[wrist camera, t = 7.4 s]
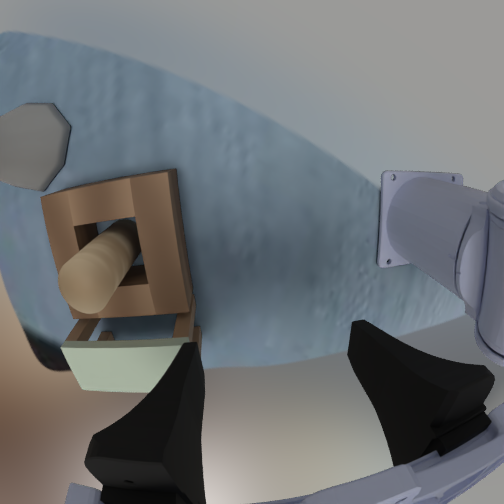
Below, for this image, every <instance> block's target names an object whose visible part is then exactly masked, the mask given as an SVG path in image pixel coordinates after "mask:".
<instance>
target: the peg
mask: <svg viewBox="0 0 504 504" xmlns="http://www.w3.org/2000/svg"><path fill="white" fill-rule="evenodd" d="M140 252H141V246H140V241H139V235H138V230H137V224H136V223H135V222H133V221H131V220H126V219H122V220H118V221H116V222H115V223H113V224H112V225H111V226H109V227H108V228H107V229H106V230H104V231H103V232H102V233H101V234H99V235H98V236H97V237H96V238H95V239H93V240H92V241H91V242H90V243H89V244H87V245H86V246H85V247H84V248H83V249H81V250H80V251H79V252H78V253H77V254H76V255H74V256H73V257H72V258H71V259H70V260H69V261H68V262H66V263H65V264H64V265H63V266H62V268H61V270H60V272H59V276H58V285H59V289H60V292H61V294H62V296H63V298H64V299H65V300H66V302H67V303H68V304H69V305H70V306H71V307H73V308H74V309H76V310H77V311H80V312H82V313H86V314H93V313H97V312H99V311H101V310H102V309H104V307H105V306H106V305H107V303H108V301H109V300H110V298H111V296H112V295H113V293H114V292H115V290H116V289H117V287H118V285H119V284H120V282H121V281H122V279H123V278H124V276H125V275H126V273H127V272H128V270H129V269H130V267H131V266H132V264H133V263H134V261H135V260H136V258H137V257H138V255H139V254H140Z"/></svg>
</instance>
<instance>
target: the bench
mask: <svg viewBox="0 0 504 504" xmlns="http://www.w3.org/2000/svg"><path fill="white" fill-rule="evenodd" d="M195 310H196V302H195V297H194V294H192V298H191V305H190V311H189V312H186V313H177V318H176V323H175V328H174V333H173V338H165V339H147V340H120V341H115V340H114V337H113V335H112V332H101V334H100V336H99V338H98V340H97V341H88V340H89V338H90V336H91V334H92V333H93V331H94V329H95V327H96V326H97V324H98V322H99V321H100V319H101V318H88V319H79V321H78V322H77V323H76V325H75V326H74V328H73V329H72V331H71V332H70V334H69V335H68V337H67V339H66V340H65V342H64V343H63V345H62V346H61V349H62V351H63V354H64V356H65V358H66V360H67V362H68V364H69V366H70V368H71V370H72V372H73V373H74V375H75V377H76V379H77V380H78V383H79V384H80V386H81V388H82V389H83V390H92V391H109V392H150V391H151V390H152V389H153V388H154V387H155V385H156V384H157V383H158V381H159V380H160V379H161V377H162V376H163V375H164V373H165V372H166V370H167V369H168V367H169V366H170V364H171V363H172V361H173V360H174V358H175V356H176V355H177V353H178V351H179V349H180V347H181V346H182V344H183V343H185V342H197V343H198V348H199V352H200V357H201V344H202V334H201V329H200V326H196V327H194V319H195Z"/></svg>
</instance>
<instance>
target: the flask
mask: <svg viewBox="0 0 504 504" xmlns="http://www.w3.org/2000/svg"><path fill="white" fill-rule="evenodd" d="M70 128H71V127H70V125H69V124H68V123H67V121H66V120H65V119H64V118H63V116H62V115H61V114H60V112H59V111H58V110H57V109H56V107H55V106H54V105H53V103H26V104H24V105H21V106H19V107H17V108H16V109H14V110H12V111H10V112H8V113H6V114H5V115H2V116H0V181H2V182H5V183H7V184H10V185H13V186H16V187H20V188H25V189H31V190H37V191H42V192H44V190H45V189H46V188H47V186H48V185H49V183H50V182H51V181H52V179H53V178H54V177H55V176H56V174H57V173H58V172H59V170H60V169H61V168H62V167H63V165H64V161H65V154H66V149H67V143H68V138H69V132H70Z"/></svg>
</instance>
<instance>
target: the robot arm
mask: <svg viewBox="0 0 504 504" xmlns="http://www.w3.org/2000/svg"><path fill="white" fill-rule="evenodd" d="M392 175H394V179H393V180H392V179H391V176H392ZM388 259H389V262H388V263H386V262H387V260H388ZM411 263H412V264H413V265H415V266H416V267H418V268H419V269H420V270H422V271H423V272H425V273H426V274H428V275H429V276H430V277H432V278H433V279H435V280H436V281H437V282H439V283H440V284H441V285H443V286H444V287H446V288H447V289H448V290H450V291H451V292H452V293H454V294H455V295H456V296H458V297H459V298H460V299H462V300H463V301H464V303H465V313H466V314H468V315H469V316H470V317H471V318H473V319H474V320H475V321H476V323H475V329H474V333H475V339H476V343H477V345H478V347H479V349H480V350H481V351H482V352H483V354H484V355H485V356H486V357H487V358H489V359H490V360H491V361H493V362H494V363H496V364H498V365H500V366H504V180H502V181H500V182H498V183H497V184H496V185H495V186H494V187H493V188H492V189H490V190H489V192H484V191H481V190H477V189H474V188H470V187H467V186H463V176H462V175H461V174H458V173H457V174H456V173H441V172H420V171H384V172H383V173H382V175H381V210H380V231H379V246H378V258H377V264H378V266H380V267H381V268H386V267H393V266H399V265H405V264H411ZM347 355H348V358H349V360H350V363H351V365H352V368H353V370H354V372H355V374H356V376H357V378H358V380H359V381H360V383H361V385H362V387H363V388H364V390H365V392H366V394H367V395H368V397H369V399H370V401H371V402H372V404H373V406H374V408H375V410H376V413H377V415H378V418H379V420H380V423H381V425H382V428H383V431H384V434H385V437H386V440H387V443H388V447H389V450H390V454H391V457H392V461H393V466H394V467H392V468H389V469H387V470H384V471H381V472H378V473H376V474H373V475H370V476H367V477H364V478H361V479H358V480H354V481H351V482H348V483H344V484H340V485H337V486H333V487H330V488H327V489H324V490H321V491H318V492H316V493H313V494H310V495H305V496H300V497H295V498H289V499H283V500H277V501H270V502H261V503H252V504H447V503H448V502H450V501H451V500H453V499H455V498H456V497H458V496H459V495H461V494H462V493H464V492H465V491H467V490H468V489H470V488H471V487H472V486H474V485H475V484H476V483H478V482H479V481H480V480H482V479H483V478H485V477H486V476H487V475H488V474H490V473H491V472H492V471H493V470H495V469H496V468H497V467H499V466H500V465H501V464H502V463H504V403H502V404H501V405H499V406H498V407H497V408H495V409H494V410H492V411H491V412H490V413H489V414H488V415H486V414H485V412H484V411H485V410H486V406H485V405H484V404H483V403H484V401H485V399H486V398H487V396H488V394H489V393H490V391H491V389H492V387H493V385H494V381H495V378H494V375H493V374H492V373H491V372H490V371H489V370H488V369H487V368H486V366H484V365H474V364H465V363H459V362H454V361H450V360H446V359H442V358H439V357H436V356H433V355H430V354H427V353H425V352H422V351H420V350H417V349H415V348H413V347H411V346H409V345H407V344H405V343H403V342H401V341H399V340H398V339H396V338H394V337H392V336H391V335H389V334H387V333H386V332H384V331H382V330H381V329H379V328H377V327H376V326H374V325H372V324H371V323H369V322H367V321H365V320H358V321H353V322H352V326H351V333H350V340H349V347H348V354H347ZM204 399H205V379H204V370H203V366H202V361H201V357H200V352H199V348H198V343H197V342H185V343H183V344H182V346H181V347H180V349H179V351H178V353H177V355H176V356H175V358H174V360H173V361H172V363H171V364H170V366H169V367H168V369H167V370H166V372H165V373H164V375H163V376H162V377H161V379H160V380H159V381H158V383H157V384H156V385H155V387H154V388H153V389H152V390H151V391H150V392H149V394H148V395H147V396H146V397H145V398H144V399H143V400H142V401H141V402H140V403H139V404H138V405H137V406H135V407H134V408H133V409H132V410H131V411H130V412H129V413H128V414H126V415H125V416H123V417H122V418H121V419H119V420H118V421H116V422H115V423H113V424H112V425H110V426H109V427H107V428H105V429H103V430H101V431H100V432H98V433H96V434H94V435H93V437H92V439H91V441H90V444H89V447H88V451H87V454H86V458H85V461H84V463H85V466H86V468H87V469H88V470H89V471H90V472H91V473H92V474H93V476H94V477H95V478H97V480H99V481H100V482H101V483H102V484H103V488H102V491H100V490H98V489H96V488H92V487H88V486H84V485H79V484H75V483H70V485H69V489H68V493H67V497H66V501H65V504H206V499H205V490H204V479H203V466H202V448H201V431H202V420H203V409H204Z"/></svg>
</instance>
